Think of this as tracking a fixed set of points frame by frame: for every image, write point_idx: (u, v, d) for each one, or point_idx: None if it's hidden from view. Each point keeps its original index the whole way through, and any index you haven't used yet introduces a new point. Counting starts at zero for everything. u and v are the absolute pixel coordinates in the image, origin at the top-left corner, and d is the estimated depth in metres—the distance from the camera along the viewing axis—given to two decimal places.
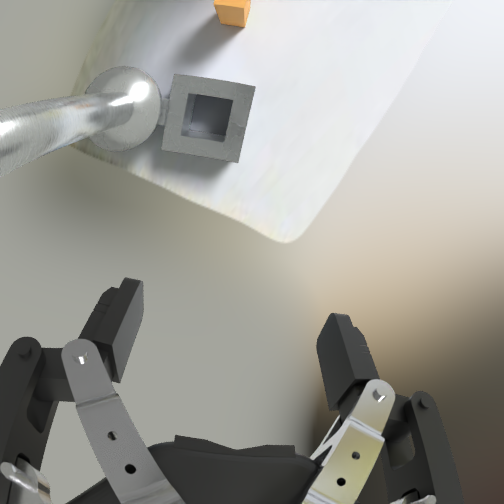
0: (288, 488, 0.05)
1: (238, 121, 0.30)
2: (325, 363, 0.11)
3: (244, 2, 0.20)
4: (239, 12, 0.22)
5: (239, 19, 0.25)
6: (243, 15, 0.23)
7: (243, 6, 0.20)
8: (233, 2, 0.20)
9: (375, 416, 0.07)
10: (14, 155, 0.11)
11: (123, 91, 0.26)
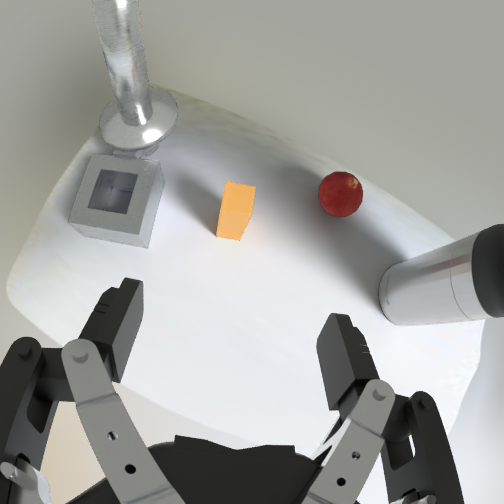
0: (288, 488, 0.05)
1: (105, 220, 0.29)
2: (325, 363, 0.11)
3: (227, 209, 0.28)
4: None
5: None
6: None
7: (222, 208, 0.28)
8: (227, 198, 0.28)
9: (375, 416, 0.07)
10: None
11: (151, 117, 0.31)
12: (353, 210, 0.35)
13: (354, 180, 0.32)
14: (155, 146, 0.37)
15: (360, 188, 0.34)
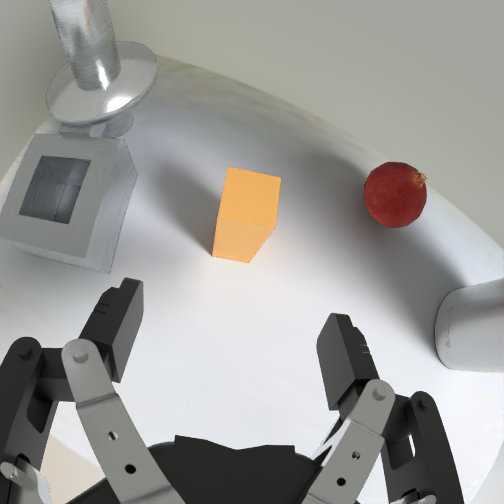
0: (288, 488, 0.05)
1: (39, 234, 0.16)
2: (325, 363, 0.11)
3: (231, 217, 0.15)
4: None
5: None
6: (215, 232, 0.18)
7: (221, 215, 0.15)
8: (231, 198, 0.15)
9: (375, 416, 0.07)
10: None
11: (117, 78, 0.18)
12: (414, 219, 0.22)
13: (421, 175, 0.20)
14: (127, 123, 0.24)
15: (425, 187, 0.21)
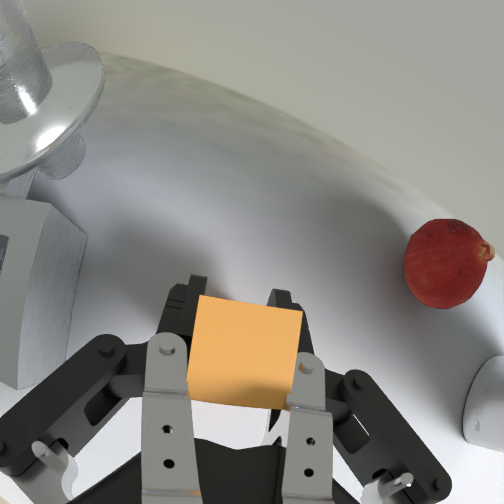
0: (260, 495, 0.05)
1: None
2: None
3: (208, 398, 0.07)
4: None
5: None
6: None
7: (191, 396, 0.07)
8: (207, 362, 0.08)
9: (311, 392, 0.08)
10: None
11: (44, 100, 0.11)
12: None
13: (490, 249, 0.12)
14: (75, 159, 0.17)
15: None
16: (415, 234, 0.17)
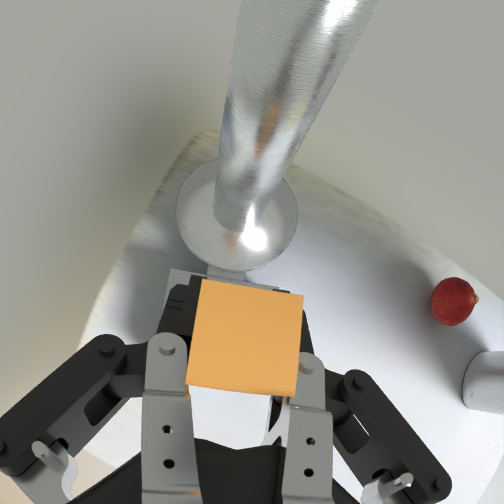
0: (260, 495, 0.05)
1: None
2: None
3: (211, 384, 0.07)
4: None
5: None
6: None
7: (192, 381, 0.07)
8: (210, 345, 0.08)
9: (311, 392, 0.08)
10: None
11: (262, 218, 0.24)
12: None
13: (476, 297, 0.25)
14: None
15: None
16: (438, 286, 0.29)
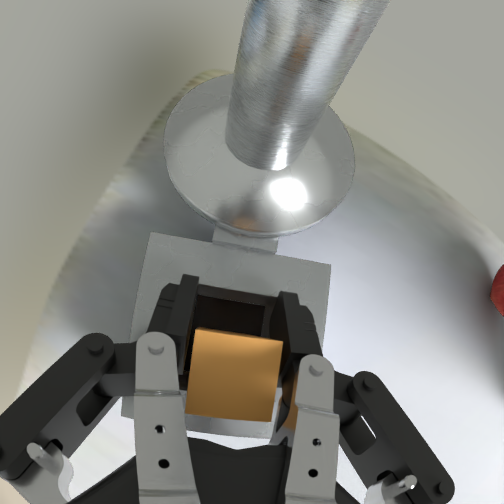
0: (263, 493, 0.05)
1: (222, 418, 0.12)
2: None
3: (205, 413, 0.09)
4: None
5: None
6: None
7: (190, 411, 0.09)
8: (203, 384, 0.09)
9: (320, 394, 0.08)
10: None
11: (303, 152, 0.14)
12: None
13: None
14: None
15: None
16: (503, 271, 0.20)
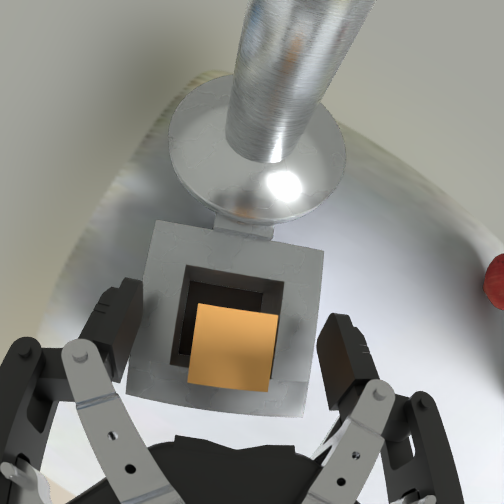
0: (288, 488, 0.05)
1: (221, 395, 0.13)
2: (325, 363, 0.11)
3: (206, 382, 0.10)
4: None
5: None
6: None
7: (192, 380, 0.10)
8: (204, 354, 0.10)
9: (375, 416, 0.07)
10: None
11: (297, 147, 0.15)
12: None
13: None
14: None
15: None
16: (495, 263, 0.21)
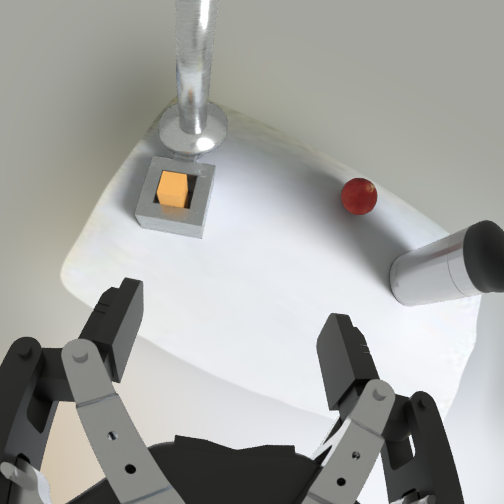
0: (288, 488, 0.05)
1: (170, 214, 0.36)
2: (325, 363, 0.11)
3: (162, 192, 0.33)
4: None
5: None
6: (160, 201, 0.36)
7: (158, 192, 0.33)
8: (163, 184, 0.34)
9: (375, 416, 0.07)
10: (184, 20, 0.20)
11: (206, 128, 0.39)
12: (369, 209, 0.43)
13: (371, 185, 0.40)
14: None
15: (375, 192, 0.41)
16: (345, 184, 0.44)
